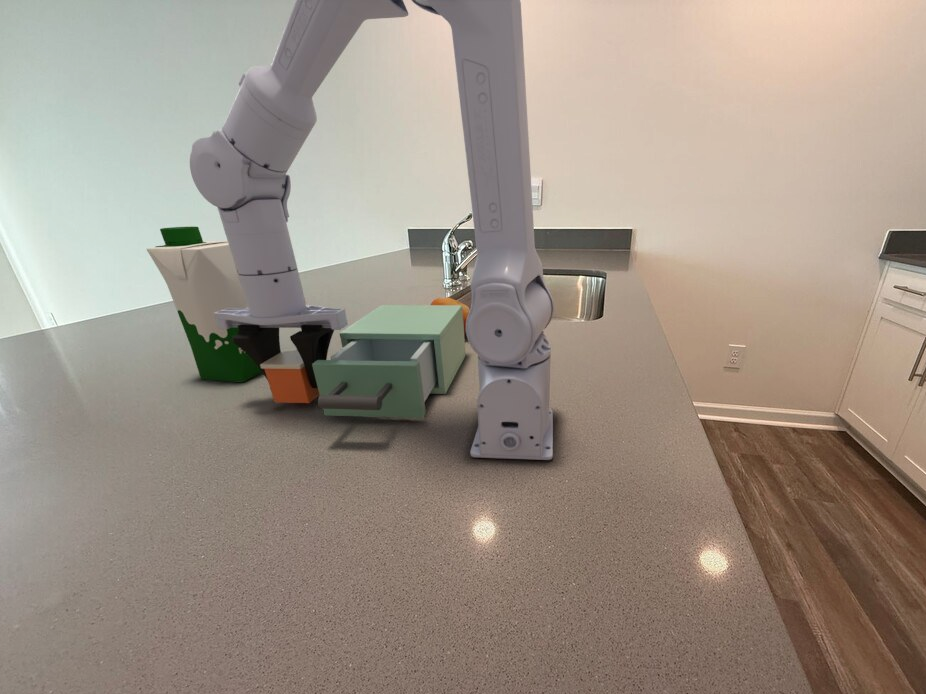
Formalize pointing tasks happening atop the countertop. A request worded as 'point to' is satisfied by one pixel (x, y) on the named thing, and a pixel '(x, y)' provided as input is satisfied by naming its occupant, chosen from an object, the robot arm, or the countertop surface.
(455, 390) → the countertop surface
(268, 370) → the plastic tub
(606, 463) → the countertop surface
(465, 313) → the fruit
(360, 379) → the drawer
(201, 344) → the milk carton
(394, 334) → the green cabinet
